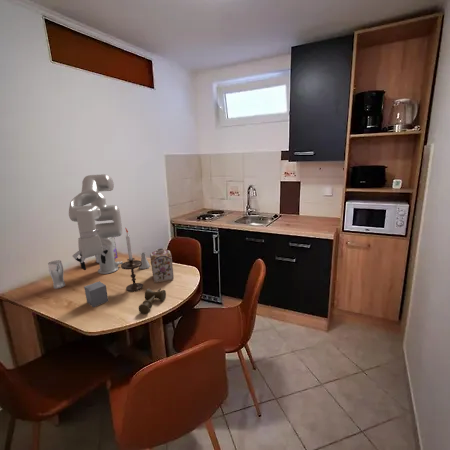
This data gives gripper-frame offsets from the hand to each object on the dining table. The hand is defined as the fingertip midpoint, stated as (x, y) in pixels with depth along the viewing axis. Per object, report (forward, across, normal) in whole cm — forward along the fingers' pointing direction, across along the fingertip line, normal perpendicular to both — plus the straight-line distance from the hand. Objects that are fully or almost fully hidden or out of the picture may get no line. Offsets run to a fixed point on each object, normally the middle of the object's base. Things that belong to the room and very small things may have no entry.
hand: (94, 266), depth 139 cm
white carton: (+20, -28, -54) cm, 64 cm away
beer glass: (+19, +9, -34) cm, 40 cm away
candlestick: (+19, -18, +4) cm, 26 cm away
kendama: (+18, -15, +27) cm, 36 cm away
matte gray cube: (+18, +2, +3) cm, 18 cm away
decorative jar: (+19, -36, +5) cm, 41 cm away
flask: (+20, -38, -19) cm, 47 cm away
